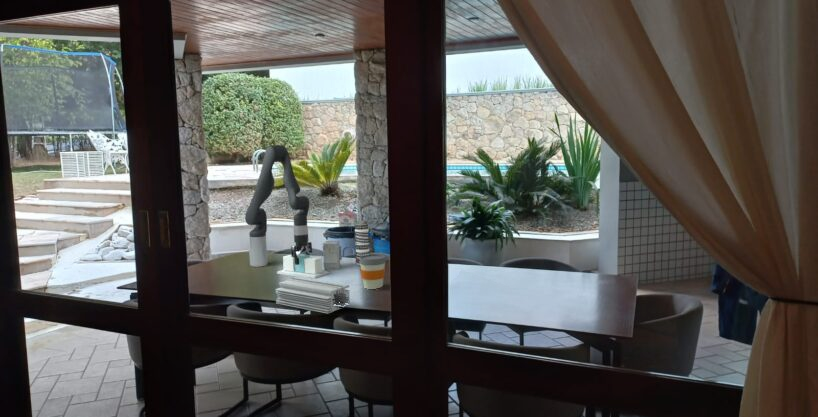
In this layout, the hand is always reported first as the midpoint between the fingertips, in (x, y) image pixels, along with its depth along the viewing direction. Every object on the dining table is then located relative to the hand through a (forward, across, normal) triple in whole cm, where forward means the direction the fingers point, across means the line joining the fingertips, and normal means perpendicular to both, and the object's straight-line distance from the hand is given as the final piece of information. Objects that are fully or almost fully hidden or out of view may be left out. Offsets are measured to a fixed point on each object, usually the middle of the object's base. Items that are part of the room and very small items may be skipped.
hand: (302, 262), depth 304 cm
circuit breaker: (+6, -19, +6) cm, 21 cm away
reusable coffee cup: (+6, +8, +51) cm, 52 cm away
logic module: (+4, 0, 0) cm, 4 cm away
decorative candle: (+6, -34, +16) cm, 38 cm away
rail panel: (+6, 0, 0) cm, 6 cm away
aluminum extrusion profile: (+6, +43, +42) cm, 61 cm away
